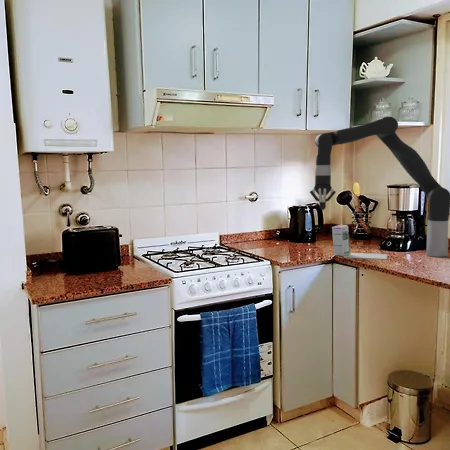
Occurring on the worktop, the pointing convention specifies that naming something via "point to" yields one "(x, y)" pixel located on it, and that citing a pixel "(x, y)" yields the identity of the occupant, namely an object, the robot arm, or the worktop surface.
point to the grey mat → (366, 256)
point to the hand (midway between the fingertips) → (322, 209)
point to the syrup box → (341, 240)
